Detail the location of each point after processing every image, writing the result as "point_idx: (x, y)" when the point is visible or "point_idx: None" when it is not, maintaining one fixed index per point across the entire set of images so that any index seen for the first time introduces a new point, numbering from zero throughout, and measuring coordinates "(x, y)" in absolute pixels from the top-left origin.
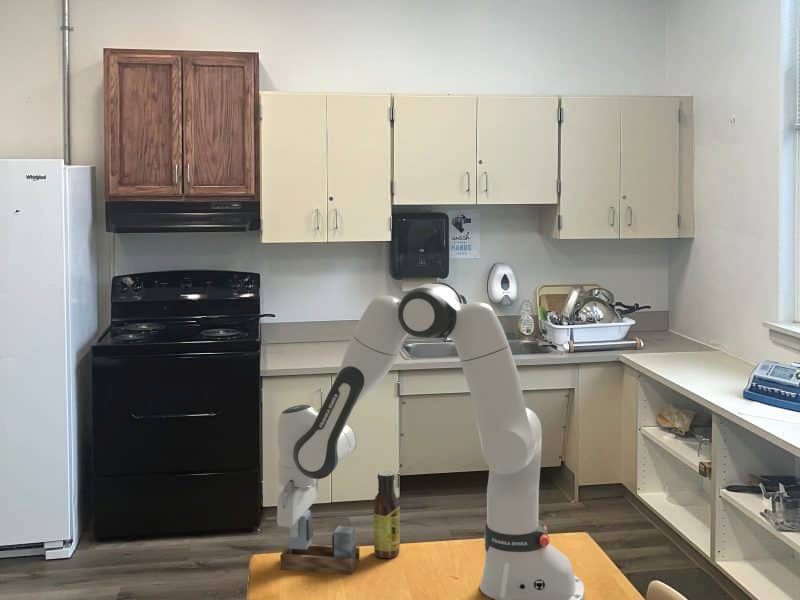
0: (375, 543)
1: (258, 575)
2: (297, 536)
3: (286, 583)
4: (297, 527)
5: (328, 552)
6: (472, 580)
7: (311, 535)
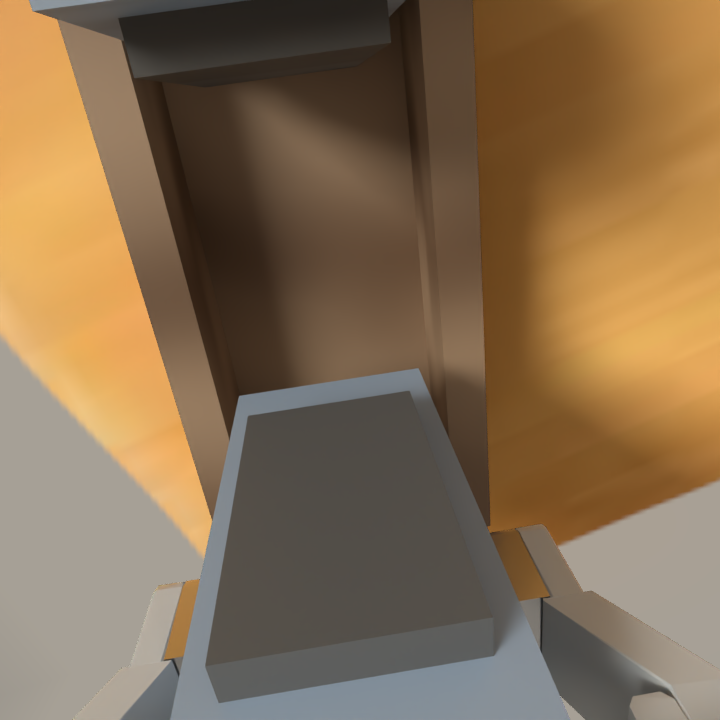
0: None
1: (571, 525)
2: (543, 525)
3: (673, 322)
4: (622, 626)
5: (182, 201)
6: None
7: (314, 420)
